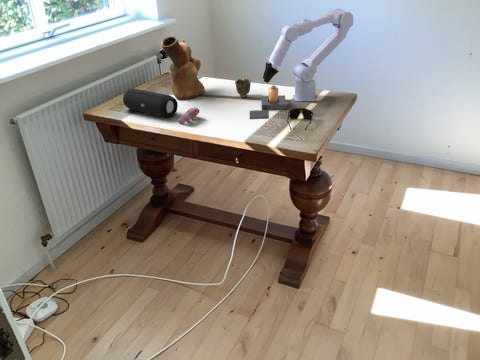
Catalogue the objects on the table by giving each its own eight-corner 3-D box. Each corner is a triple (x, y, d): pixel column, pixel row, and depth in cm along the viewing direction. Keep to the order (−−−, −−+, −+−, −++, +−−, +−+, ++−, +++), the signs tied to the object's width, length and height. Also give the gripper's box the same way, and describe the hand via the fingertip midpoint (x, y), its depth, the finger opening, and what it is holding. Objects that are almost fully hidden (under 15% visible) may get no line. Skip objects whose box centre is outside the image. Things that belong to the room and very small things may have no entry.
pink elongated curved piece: (184, 128, 189) (188, 116, 185) (176, 122, 190) (180, 110, 186) (198, 120, 196) (202, 108, 192) (190, 114, 197) (194, 102, 193)
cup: (251, 94, 216) (251, 78, 212) (250, 99, 210) (250, 83, 206) (236, 94, 217) (235, 78, 213) (235, 99, 211) (234, 83, 207)
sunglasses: (313, 118, 188) (313, 108, 185) (310, 134, 179) (311, 123, 176) (288, 117, 191) (288, 107, 187) (285, 132, 182) (285, 122, 178)
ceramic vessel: (211, 91, 222) (205, 30, 206) (184, 106, 207) (176, 41, 191) (186, 86, 230) (179, 27, 214) (158, 101, 214) (149, 38, 198)
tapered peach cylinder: (278, 103, 204) (278, 84, 200) (278, 106, 201) (278, 87, 196) (268, 103, 205) (268, 84, 200) (268, 107, 201) (268, 88, 196)
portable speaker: (123, 112, 205) (119, 91, 199) (138, 104, 212) (134, 84, 206) (166, 121, 193) (163, 100, 188) (180, 113, 200) (177, 92, 195)
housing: (284, 100, 207) (284, 95, 206) (286, 109, 198) (286, 104, 196) (261, 101, 208) (261, 96, 206) (261, 110, 198) (261, 105, 197)
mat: (267, 111, 197) (267, 109, 197) (268, 118, 190) (268, 117, 190) (249, 111, 198) (249, 110, 197) (249, 118, 191) (249, 117, 191)
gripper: (270, 46, 199) (256, 73, 204) (272, 50, 186) (258, 79, 190) (283, 53, 200) (270, 80, 205) (287, 57, 187) (272, 86, 192)
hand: (265, 80), depth 198 cm, fingers open, 7 cm apart
